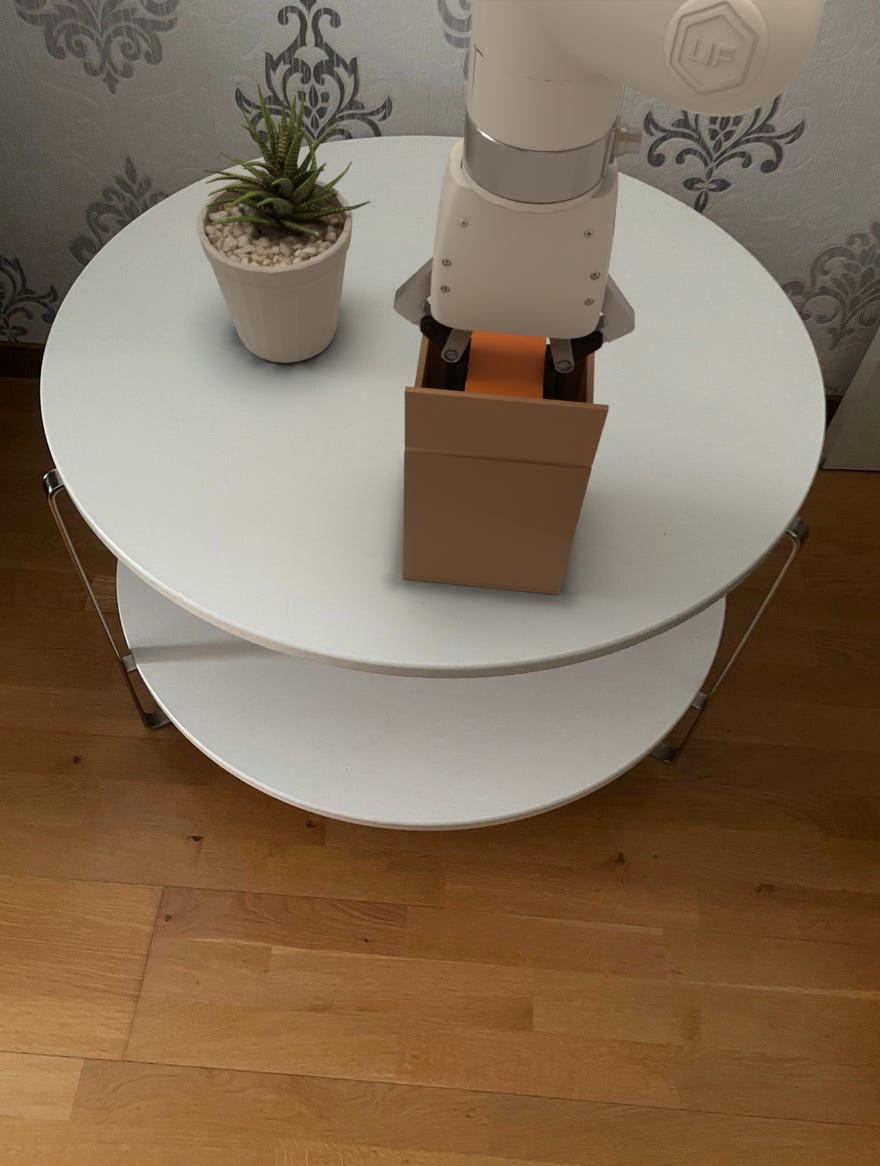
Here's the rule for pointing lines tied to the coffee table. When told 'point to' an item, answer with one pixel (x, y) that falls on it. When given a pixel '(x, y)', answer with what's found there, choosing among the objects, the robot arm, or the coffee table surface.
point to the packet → (506, 365)
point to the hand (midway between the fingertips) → (502, 396)
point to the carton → (491, 505)
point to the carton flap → (503, 425)
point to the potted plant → (279, 245)
